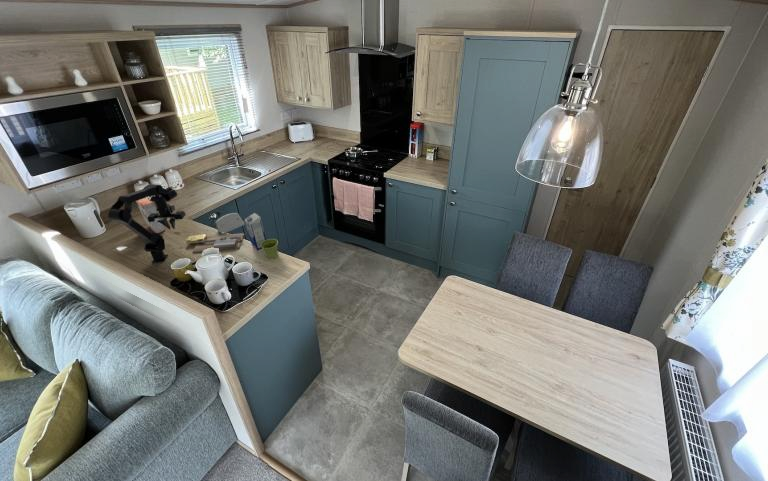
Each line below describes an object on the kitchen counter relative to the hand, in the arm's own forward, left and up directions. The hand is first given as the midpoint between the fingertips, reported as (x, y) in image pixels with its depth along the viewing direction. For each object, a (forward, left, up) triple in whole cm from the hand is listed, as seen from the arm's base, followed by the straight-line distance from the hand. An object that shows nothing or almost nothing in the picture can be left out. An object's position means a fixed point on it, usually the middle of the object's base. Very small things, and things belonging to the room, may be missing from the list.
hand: (172, 228), depth 202 cm
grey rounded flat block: (+15, -27, -11) cm, 33 cm away
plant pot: (-22, -59, -11) cm, 64 cm away
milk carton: (-10, -50, -11) cm, 52 cm away
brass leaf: (0, -11, -10) cm, 15 cm away
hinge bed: (-3, -25, -11) cm, 28 cm away
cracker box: (+22, +21, -11) cm, 33 cm away
